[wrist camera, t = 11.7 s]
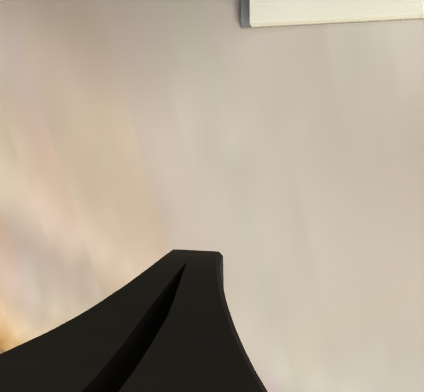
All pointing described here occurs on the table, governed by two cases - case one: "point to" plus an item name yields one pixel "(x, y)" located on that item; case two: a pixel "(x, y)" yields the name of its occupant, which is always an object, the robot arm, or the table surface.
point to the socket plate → (326, 11)
